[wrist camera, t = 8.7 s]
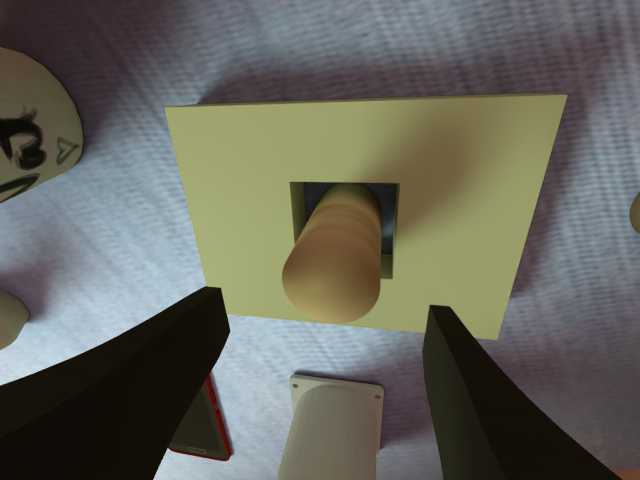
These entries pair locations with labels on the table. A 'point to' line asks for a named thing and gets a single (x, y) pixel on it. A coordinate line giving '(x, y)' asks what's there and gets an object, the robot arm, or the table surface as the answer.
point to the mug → (34, 125)
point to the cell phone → (202, 428)
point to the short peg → (635, 213)
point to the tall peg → (337, 257)
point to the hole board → (370, 167)
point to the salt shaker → (11, 318)
